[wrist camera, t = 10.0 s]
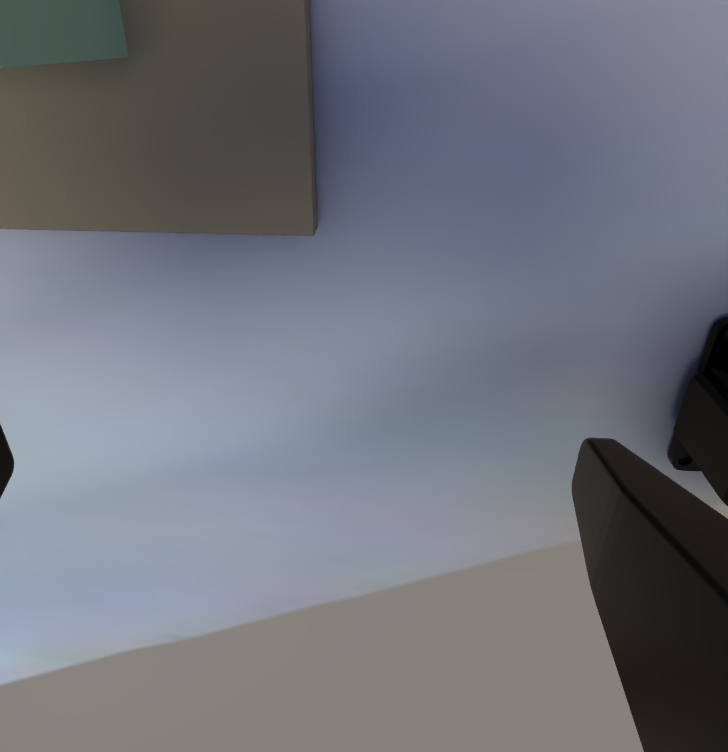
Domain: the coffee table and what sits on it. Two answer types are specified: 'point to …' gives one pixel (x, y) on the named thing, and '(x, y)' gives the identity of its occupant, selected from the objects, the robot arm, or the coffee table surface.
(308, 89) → the mat
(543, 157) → the coffee table surface
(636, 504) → the robot arm
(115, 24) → the cube
